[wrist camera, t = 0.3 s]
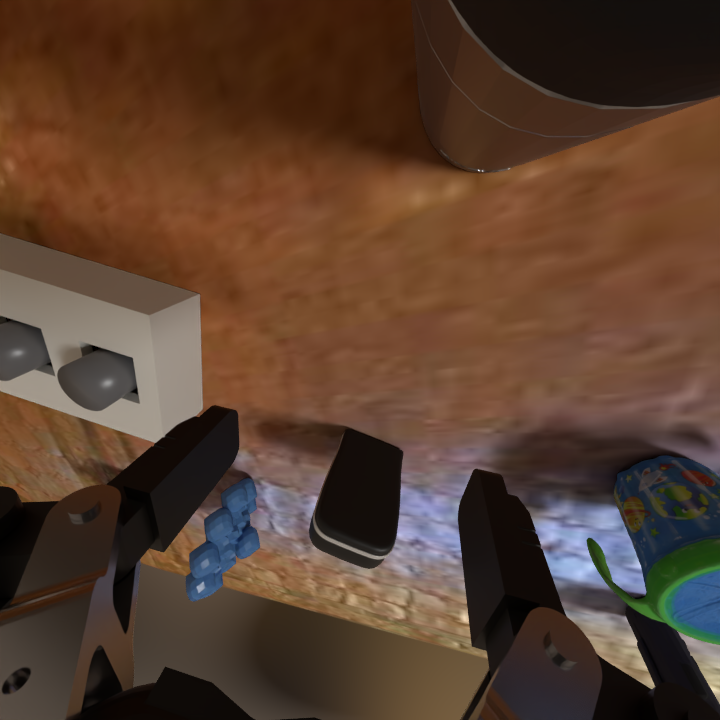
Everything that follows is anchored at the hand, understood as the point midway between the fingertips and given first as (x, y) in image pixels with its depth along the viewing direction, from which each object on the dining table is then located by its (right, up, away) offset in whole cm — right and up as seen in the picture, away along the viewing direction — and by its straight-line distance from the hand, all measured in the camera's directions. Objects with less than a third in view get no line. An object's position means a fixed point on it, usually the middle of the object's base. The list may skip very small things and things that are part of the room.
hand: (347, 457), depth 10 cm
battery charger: (+2, -6, +23) cm, 24 cm away
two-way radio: (+33, -26, +27) cm, 50 cm away
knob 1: (-29, +6, +19) cm, 35 cm away
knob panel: (-28, +7, +23) cm, 37 cm away
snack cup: (+28, -8, +19) cm, 35 cm away
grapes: (-13, -15, +31) cm, 37 cm away
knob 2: (-21, +3, +19) cm, 28 cm away
